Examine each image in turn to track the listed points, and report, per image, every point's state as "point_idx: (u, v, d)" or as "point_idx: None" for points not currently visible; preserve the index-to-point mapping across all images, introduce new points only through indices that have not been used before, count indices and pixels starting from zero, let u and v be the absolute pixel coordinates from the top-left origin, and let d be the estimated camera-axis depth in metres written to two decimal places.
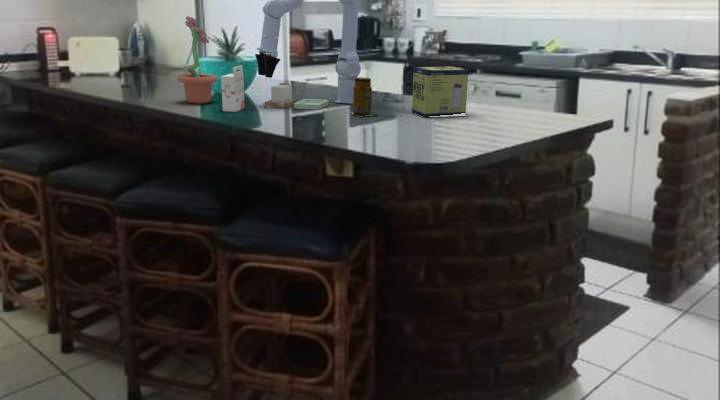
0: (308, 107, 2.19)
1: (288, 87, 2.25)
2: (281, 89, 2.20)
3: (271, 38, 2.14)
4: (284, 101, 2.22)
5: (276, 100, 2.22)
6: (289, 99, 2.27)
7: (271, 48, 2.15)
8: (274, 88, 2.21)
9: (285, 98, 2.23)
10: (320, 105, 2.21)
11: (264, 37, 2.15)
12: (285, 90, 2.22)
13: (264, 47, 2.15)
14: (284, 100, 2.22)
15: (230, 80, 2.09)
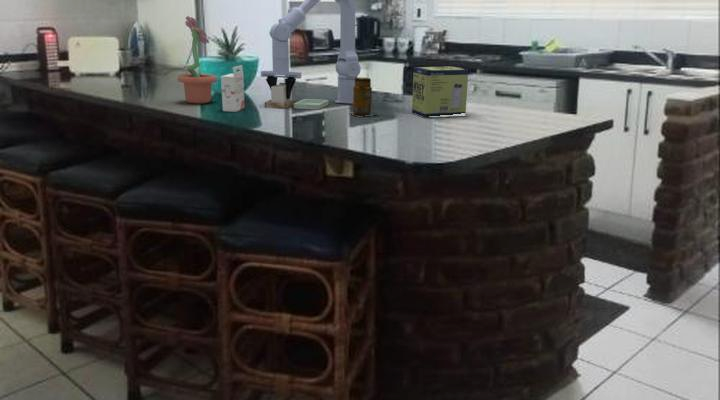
0: (308, 107, 2.19)
1: None
2: (281, 89, 2.20)
3: (287, 61, 2.20)
4: (284, 101, 2.22)
5: (276, 100, 2.22)
6: (289, 99, 2.27)
7: (288, 70, 2.22)
8: (274, 88, 2.21)
9: (285, 97, 2.23)
10: (320, 105, 2.21)
11: (282, 61, 2.19)
12: (285, 90, 2.22)
13: (284, 71, 2.20)
14: (284, 99, 2.22)
15: (230, 80, 2.09)
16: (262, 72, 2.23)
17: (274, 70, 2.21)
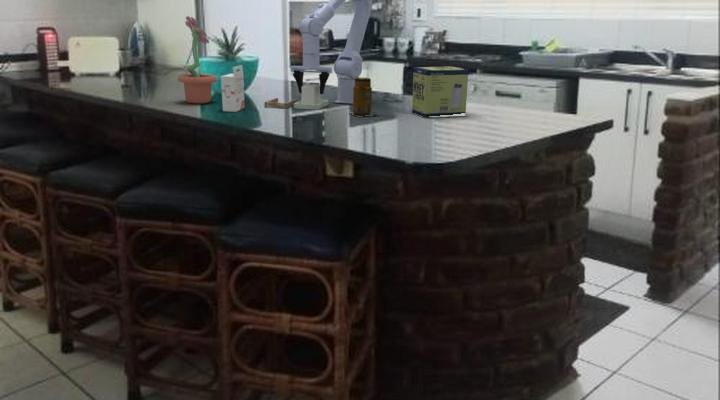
0: (308, 107, 2.19)
1: (318, 86, 2.24)
2: (312, 88, 2.19)
3: (318, 56, 2.19)
4: (314, 100, 2.21)
5: (306, 99, 2.21)
6: (319, 98, 2.26)
7: (318, 65, 2.21)
8: (305, 87, 2.20)
9: (315, 97, 2.22)
10: (320, 105, 2.21)
11: (312, 56, 2.18)
12: (315, 90, 2.21)
13: (314, 65, 2.19)
14: (315, 99, 2.22)
15: (230, 80, 2.09)
16: (292, 67, 2.22)
17: (305, 65, 2.19)
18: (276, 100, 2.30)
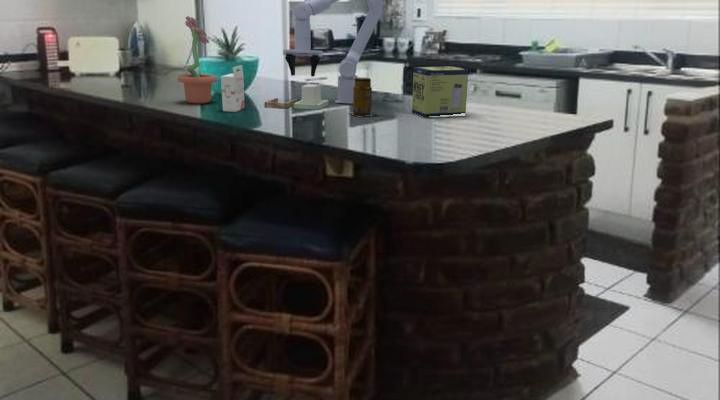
0: (308, 107, 2.19)
1: (318, 86, 2.24)
2: (312, 88, 2.19)
3: (309, 39, 2.29)
4: (314, 100, 2.21)
5: (306, 99, 2.21)
6: (319, 98, 2.26)
7: (310, 49, 2.30)
8: (305, 87, 2.20)
9: (315, 97, 2.22)
10: (320, 105, 2.21)
11: (304, 40, 2.27)
12: (315, 90, 2.21)
13: (305, 49, 2.28)
14: (315, 99, 2.22)
15: (230, 80, 2.09)
16: (284, 50, 2.31)
17: (296, 48, 2.29)
18: (276, 100, 2.30)
